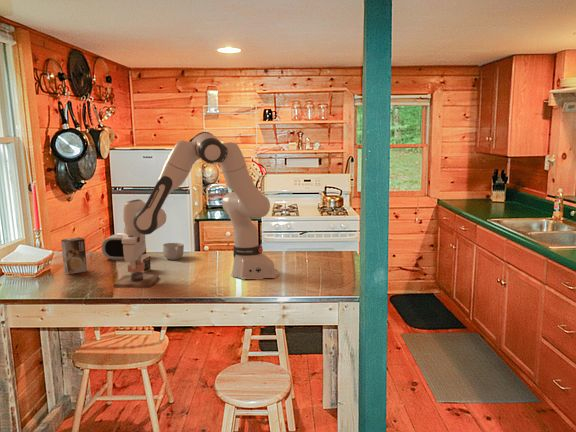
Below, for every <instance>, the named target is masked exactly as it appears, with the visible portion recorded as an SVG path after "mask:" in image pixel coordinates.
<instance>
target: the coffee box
mask: <svg viewBox="0 0 576 432" xmlns="http://www.w3.org/2000/svg"><path fill="white" fill-rule="evenodd" d="M61 250H62V251H61V252H62V262H63V263H62V264H63V272H64V273H65V274H67V275H73V274H78V273H79V274H80V273H85V272H88V267H87V255H86V243H85V238H83V237H79V236H78V237H71V238H64V239H61Z"/></svg>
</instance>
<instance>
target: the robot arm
mask: <svg viewBox="0 0 576 432" xmlns="http://www.w3.org/2000/svg"><path fill="white" fill-rule="evenodd" d="M199 159H201V160H202V161H203V162H206V163H208V164H216V163H219V165H220V169H221V171H222V175H223V178H224V181H225V183H226V186H227V188H228V189H230V190H231V192H227V193H226V194H225V195H224V196H223V198H222V201H221V204H222V208H223V210H224V212H226V214H227V215H228V217H229V219H230V221H231V224H232V228H233V229H232V230H233V240H234V241H233V242H234V243H233V248H232V249H233V250H232V254H233V266H232V271H231V274H230V275H231V276H232V277H233V276H234V278H236V277H238V278H237V279H240V278H241V279H240V280H242V279H256V280H264V279H263V278H274V279H276V278H275V277H277V276H278V275H279V276H280V271H279V270H278V269H276V268H275V264H274V261H273V260H272V259H271V258H270V257H269V256H267V255H266V254H264V253H263V251H264V248H263V246H262V245H260V244H259V230H258V227H257V226H256V225H255V224H254V223H253V221H252V219H251V218H254V219H255V218H263V217H266V216H267V215H268V214H269V212H270V209H271V204H270V200H269V198H268V197H267V196H265V195H264V194H263V193H262V192H261V191H260V190H259V189H258V187H257V186H256V185H255V183H254V182H253V180H252V178H251V176H250V173H249V170H248V166H247V162H246V159H245V157H244V155H243V152H242V151H241V149H240V147H239V145H238V144H237V143H235V142H231V141H229V142H225V143H222V142H221V140H220V139H218V138H217V136H215V134H213V133H210V132H208V131H201V132H199V133H197V134H196V135H195V136H194V137H192V138H191V139H189V141H187V140H179V141H177V142H176V143H175V145H174V146H173V147H172V149H171V150H170V152H169V154H168V156H167V157H166V160H165V161H164V164H163V167H162V169H161V172H160V174H159V176H158V179H157V182H156V184H155V185H154V187H153V190H152V192H151V193H150V195H149V197H148V199H147V200H146V202H145V201H144V200H143V199H137V198H136V199H132V200H129V201H126V202H125V203H124V205H123V215H122V216H123V222H124V223H123V224H124V228H123V233H124V236H123V238H122V244H124V245H123V252H124V259H125V260H124V262H128V263H129V264H131V268H132V269H135V268H136V263H135V261H136V259H137V260H139V262H141V259H142V254H143V253H144V252H145V251H146V252H147V244H146V235H151V234H152V233H153V232H155V231H156V230H158V229H160V228H162V226H164V225H165V224H166V222H167V214H166V212H165V210H163V209H162V208H163V205H164V204H165V201H166V200H167V198H168V197H169V195H170V194H171V193H172V192H173V191H175V190H176V189H178V188H179V187H180V186H182V184H183V183H184V182H185V180H187V178H188V176H189V174H190V173H191V170H192V168H193V166H194V164H195V163H196V162H197V161H198V160H199ZM279 276H278V277H279ZM278 277H277V278H278Z"/></svg>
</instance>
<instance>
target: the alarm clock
mask: <svg viewBox="0 0 576 432" xmlns="http://www.w3.org/2000/svg"><path fill="white" fill-rule="evenodd" d="M123 236H124V232H121V233H119V232H118V233H115V234H112V235H110V236H109V237H107V238H105V239H104V240H103V241H102V242H101V243H102V244H101V252H102V254H103V256H104V257H105V258H107V259H110V260H111V261H125V259H124V252H123V245H124V244H122V238H123Z"/></svg>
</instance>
